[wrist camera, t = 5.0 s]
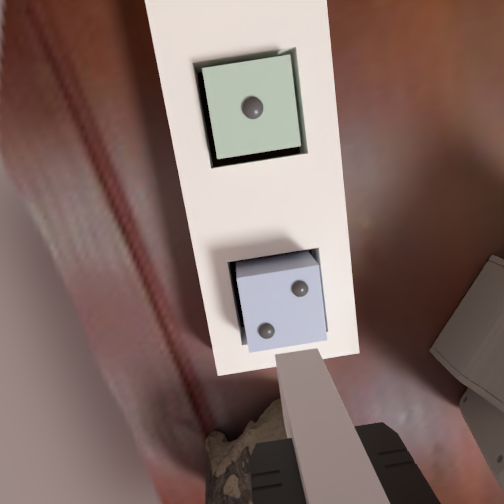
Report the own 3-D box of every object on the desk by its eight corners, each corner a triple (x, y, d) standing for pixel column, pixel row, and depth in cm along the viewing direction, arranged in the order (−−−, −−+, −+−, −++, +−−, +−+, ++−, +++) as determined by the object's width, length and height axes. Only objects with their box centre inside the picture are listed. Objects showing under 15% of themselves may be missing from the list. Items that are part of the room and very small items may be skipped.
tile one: (206, 79, 26) (201, 67, 22) (282, 67, 26) (290, 54, 22) (219, 158, 27) (217, 159, 23) (292, 146, 27) (301, 146, 23)
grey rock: (251, 534, 34) (211, 620, 25) (201, 434, 37) (147, 477, 27) (360, 474, 33) (363, 541, 23) (300, 374, 35) (281, 397, 26)
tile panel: (115, -190, 22) (97, -242, 19) (292, -217, 22) (301, -272, 19) (219, 354, 31) (217, 375, 28) (347, 334, 31) (359, 353, 28)
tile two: (235, 262, 27) (236, 278, 24) (307, 250, 27) (319, 265, 24) (247, 328, 29) (249, 353, 25) (315, 317, 29) (327, 341, 25)
